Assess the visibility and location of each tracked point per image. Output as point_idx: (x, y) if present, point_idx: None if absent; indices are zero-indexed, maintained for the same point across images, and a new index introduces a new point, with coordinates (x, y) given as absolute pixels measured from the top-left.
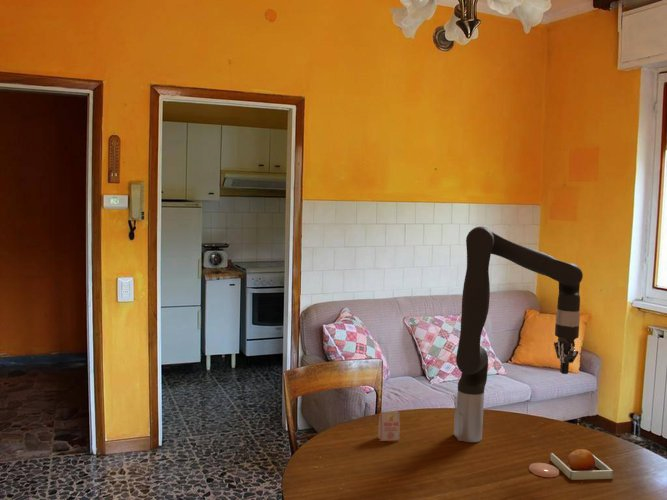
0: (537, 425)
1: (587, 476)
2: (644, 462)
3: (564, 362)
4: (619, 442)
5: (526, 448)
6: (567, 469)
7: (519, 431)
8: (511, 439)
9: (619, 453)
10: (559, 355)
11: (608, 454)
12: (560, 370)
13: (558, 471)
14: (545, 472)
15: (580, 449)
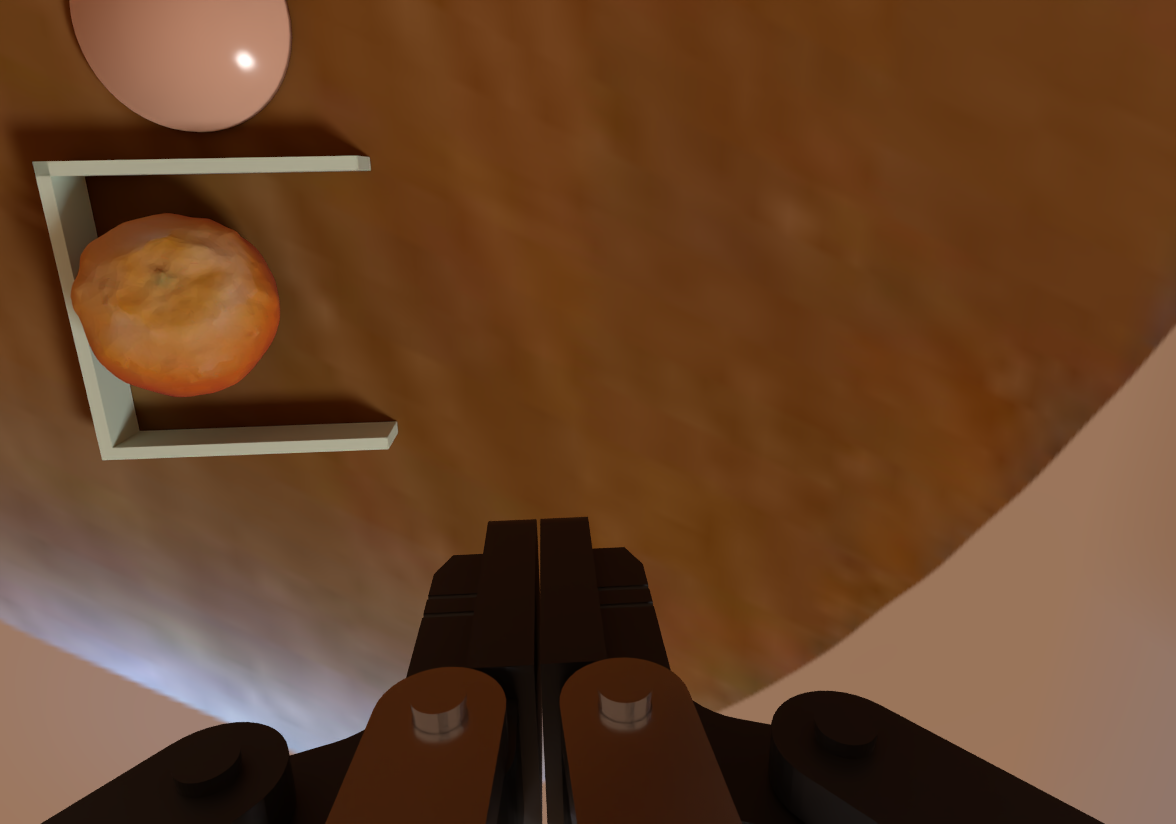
0: (965, 332)
1: None
2: None
3: (388, 726)
4: None
5: (575, 61)
6: (94, 160)
7: (883, 143)
8: (745, 6)
9: None
10: (825, 821)
11: None
12: (569, 531)
13: (154, 117)
14: (121, 4)
15: (184, 323)
